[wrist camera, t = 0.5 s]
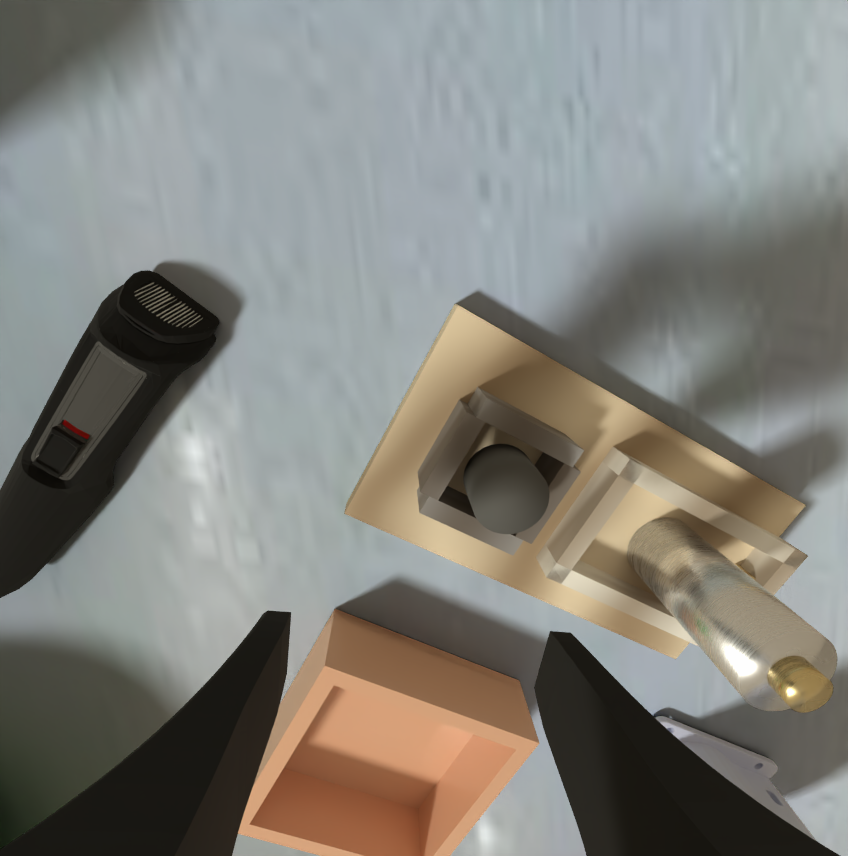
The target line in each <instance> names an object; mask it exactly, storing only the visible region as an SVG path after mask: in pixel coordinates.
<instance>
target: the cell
mask: <svg viewBox="0 0 848 856" xmlns="http://www.w3.org/2000/svg"><path fill="white" fill-rule="evenodd" d="M627 558H628V562H629V564H630V565H631V567H632V568H633V569H634V570H635V572H636V573H637V574H638V575H639V576H640V577H641V579H642V580H643V581H644V582H645V583H646V584H647V586H648V587H649V588H650V589H651V590H652V592H653V593H654V594H655V595H656V596H657V597H658V599H659V600H660V601H661V602H662V603H663V604H664V606H665V607H666V608H667V609H668V610H669V612H670V613H671V614H672V615H673V616H674V617H675V619H676V620H677V621H678V622H679V623H680V624H681V626H682V627H683V628H684V629H685V630H686V631H687V633H688V634H689V635H690V636H691V637H692V639H693V640H694V641H695V642H696V643H697V644H698V646H699V647H700V648H701V649H702V650H703V651H704V653H705V654H706V655H707V656H708V657H709V659H710V660H711V661H712V662H713V663H714V664H715V666H716V667H717V668H718V669H719V670H720V671H721V673H722V674H723V675H724V676H725V677H726V678H727V680H728V681H729V682H730V683H731V684H732V686H733V687H734V688H735V689H736V690H737V691H738V693H739V694H740V695H741V696H742V697H743V698H744V700H745V701H746V702H747V703H748V704H750V705H751V706H753V707H755V708H757V709H760V710H765V711H781V710H787V709H792V710H794V711H796V712H802V713H803V712H810V711H814V710H816V709H818V708H820V707H821V706H823V705H824V704H825V703H826V702H827V701H828V700H829V699H830V697H831V696H832V693H833V684H832V683H831V681H830V680H831V678H832V676H833V675H834V672H835V670H836V666H837V653H836V650H835V648H834V646H833V644H832V643H831V642H830V641H829V640H828V639H827V638H825V637H824V636H823V635H822V634H820V633H819V632H818V631H817V630H816V629H814V628H813V627H812V626H811V625H809V624H808V623H807V622H806V621H804V620H803V619H802V618H801V617H799V616H798V615H797V614H796V613H795V612H793V611H792V610H791V609H790V608H788V607H787V606H786V605H785V604H783V603H782V602H781V601H780V600H779V599H777V598H776V597H775V596H774V595H772V594H771V593H770V592H769V591H767V590H766V589H765V588H764V587H763V586H761V585H760V584H759V583H758V582H756V581H755V580H754V579H753V578H751V577H750V576H749V575H748V574H747V573H745V572H744V571H743V570H742V569H740V568H739V567H738V566H737V565H735V564H734V563H733V562H732V561H731V560H729V559H728V558H727V557H726V556H724V555H723V554H722V553H721V552H719V551H718V550H717V549H716V548H714V547H713V546H712V545H711V544H710V543H708V542H707V541H706V540H705V539H703V538H702V537H701V536H700V535H698V534H697V533H696V532H695V531H694V530H692V529H691V528H690V527H689V526H687V525H686V524H685V523H684V522H682V521H680V520H678V519H675V518H669V517H664V518H658V519H654V520H651V521H649V522H647V523H646V524H644V525H643V526H641V527H640V528H639V529H638V530H637V531H636V532H635V533H634V534H633V536H632V537H631V539H630V541H629V544H628V547H627Z"/></svg>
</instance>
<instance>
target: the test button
mask: <svg viewBox="0 0 848 856" xmlns="http://www.w3.org/2000/svg"><path fill="white" fill-rule="evenodd" d="M463 481H464V487H465V490H466V492H467V495H468V498H469V501H470V504H471V506H472V509H473V512H474V515H475V517H476V518H477V520H478V521H479V522H480V523H481V524H482V525H483V526H484V527H485V528H487V529H488V530H490V531H493V532H495V533H499V534H515V533H519V532H522V531H525V530H527V529H529V528H530V527H532V526H533V525H534V524H536V523H537V522H538V521H539V520H540V519H541V517H542V516H543V515H544V513H545V511H546V509H547V507H548V503H549V488H548V484H547V482H546V480H545V479H544V477H543V476H542V474H541V473H540V472H539V471H538V469H537V468H536V467H535V466H534V464H533V463H532V462H531V460H530V459H529V458H528V457H527V455H526V454H525V453H524V452H523V451H521V450H520V449H519V448H517V447H515V446H512V445H509V444H493V445H489V446H486V447H484V448H482V449H481V450H479V451H478V452H476V453H475V454H474V455H473V456H472V457H471V458H470V460H469V461H468V463H467V465H466V467H465V470H464V476H463Z"/></svg>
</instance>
